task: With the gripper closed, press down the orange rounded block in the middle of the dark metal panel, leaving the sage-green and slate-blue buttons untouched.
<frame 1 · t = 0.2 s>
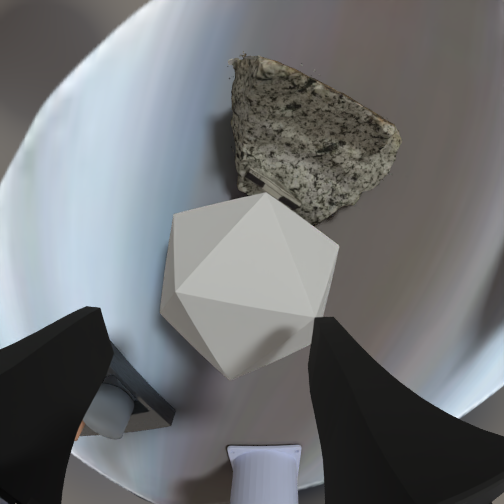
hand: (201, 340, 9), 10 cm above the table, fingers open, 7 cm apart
rock sample: (310, 152, 17), on the table
orange rounded block: (67, 417, 22), point 4 cm above the table, slide at 0.0 cm
slate button: (108, 411, 21), point 4 cm above the table, slide at 0.0 cm
die: (252, 245, 19), on the table
button panel: (81, 394, 26), on the table
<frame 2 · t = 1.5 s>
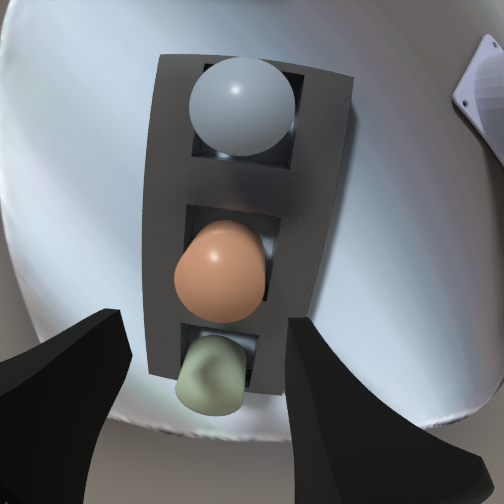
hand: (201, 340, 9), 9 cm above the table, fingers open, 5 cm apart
sage button: (213, 376, 17), point 4 cm above the table, slide at 0.0 cm
orange rounded block: (223, 268, 14), point 4 cm above the table, slide at 0.0 cm
slate button: (244, 109, 12), point 4 cm above the table, slide at 0.0 cm
button panel: (232, 242, 18), on the table
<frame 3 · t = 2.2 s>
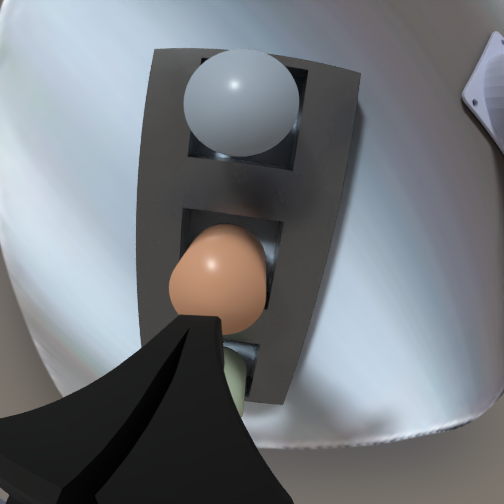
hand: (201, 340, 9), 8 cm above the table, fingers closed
sage button: (211, 386, 16), point 4 cm above the table, slide at 0.0 cm
orange rounded block: (222, 276, 13), point 4 cm above the table, slide at 0.0 cm
slate button: (244, 106, 11), point 4 cm above the table, slide at 0.0 cm
button panel: (231, 247, 17), on the table
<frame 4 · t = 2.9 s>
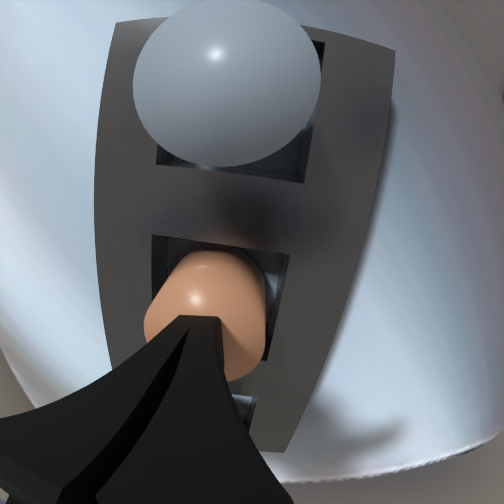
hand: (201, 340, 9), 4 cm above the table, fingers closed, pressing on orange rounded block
orange rounded block: (211, 311, 11), point 2 cm above the table, slide at 1.3 cm, touching gripper
slate button: (232, 88, 7), point 4 cm above the table, slide at 0.0 cm
button panel: (220, 281, 13), on the table
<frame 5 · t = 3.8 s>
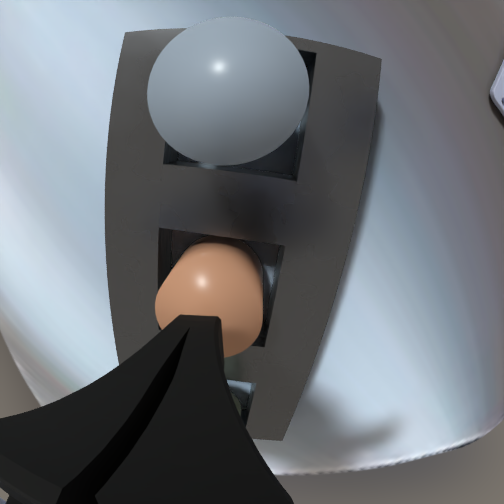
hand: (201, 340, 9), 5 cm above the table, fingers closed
sage button: (200, 428, 13), point 4 cm above the table, slide at 0.0 cm
orange rounded block: (214, 294, 12), point 2 cm above the table, slide at 1.7 cm
slate button: (232, 96, 8), point 4 cm above the table, slide at 0.0 cm
button panel: (221, 272, 14), on the table
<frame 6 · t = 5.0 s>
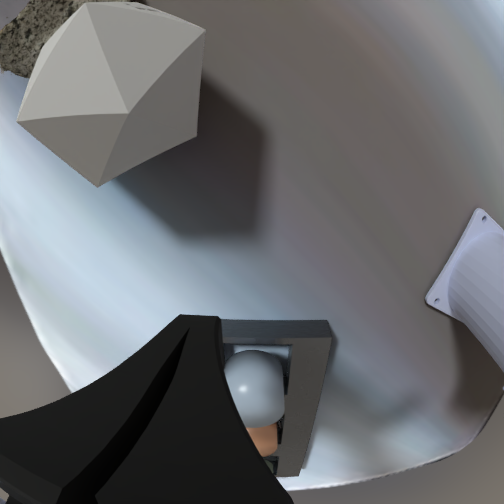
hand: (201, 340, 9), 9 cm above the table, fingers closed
rock sample: (96, 31, 13), on the table, touching die
sage button: (252, 479, 23), point 4 cm above the table, slide at 0.0 cm
orange rounded block: (253, 431, 22), point 2 cm above the table, slide at 1.7 cm
slate button: (252, 389, 17), point 4 cm above the table, slide at 0.0 cm
die: (141, 91, 15), on the table, touching rock sample
button panel: (254, 413, 24), on the table
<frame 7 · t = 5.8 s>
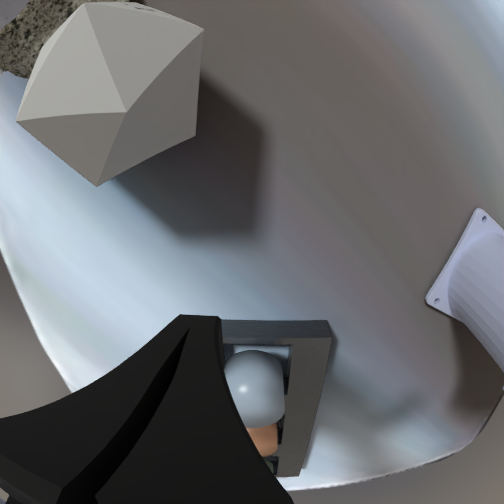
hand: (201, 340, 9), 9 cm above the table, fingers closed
rock sample: (95, 32, 13), on the table, touching die
sage button: (253, 479, 23), point 4 cm above the table, slide at 0.0 cm
orange rounded block: (253, 431, 22), point 2 cm above the table, slide at 1.7 cm
slate button: (252, 389, 17), point 4 cm above the table, slide at 0.0 cm
die: (140, 91, 15), on the table, touching rock sample
button panel: (254, 413, 24), on the table
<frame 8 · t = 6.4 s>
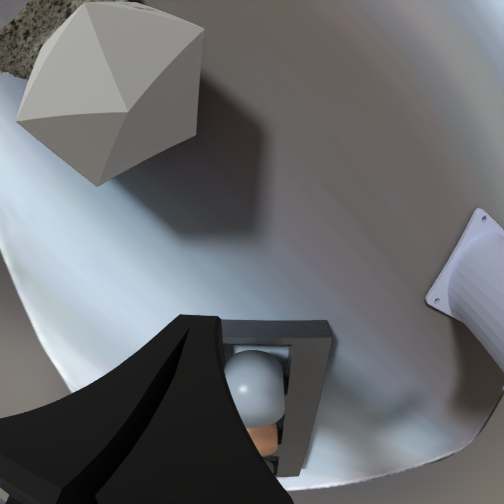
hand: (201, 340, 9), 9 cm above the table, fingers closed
rock sample: (94, 32, 13), on the table
sage button: (253, 479, 23), point 4 cm above the table, slide at 0.0 cm
orange rounded block: (253, 431, 22), point 2 cm above the table, slide at 1.7 cm
slate button: (252, 389, 17), point 4 cm above the table, slide at 0.0 cm
die: (140, 91, 15), on the table
button panel: (254, 413, 24), on the table
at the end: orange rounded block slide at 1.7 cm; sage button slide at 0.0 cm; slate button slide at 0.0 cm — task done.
